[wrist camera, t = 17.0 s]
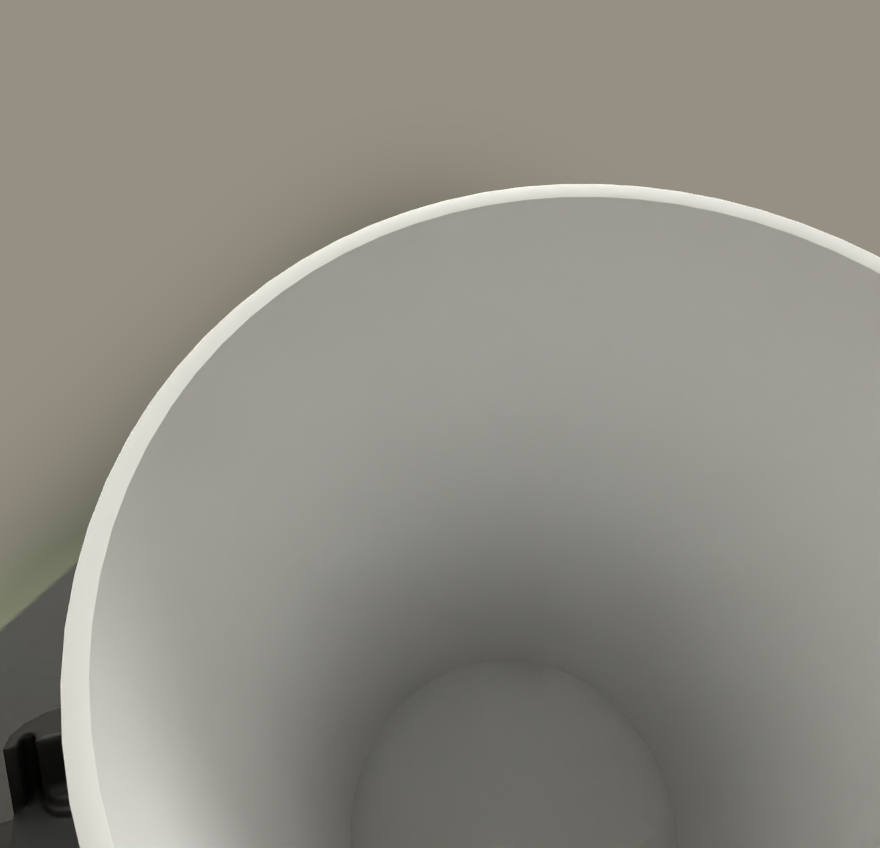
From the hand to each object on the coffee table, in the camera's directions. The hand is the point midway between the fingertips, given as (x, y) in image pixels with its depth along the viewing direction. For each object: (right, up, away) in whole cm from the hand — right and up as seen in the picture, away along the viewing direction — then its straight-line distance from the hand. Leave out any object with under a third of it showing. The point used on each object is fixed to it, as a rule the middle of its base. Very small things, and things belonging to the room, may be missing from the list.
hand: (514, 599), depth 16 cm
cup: (0, -6, +4) cm, 7 cm away
